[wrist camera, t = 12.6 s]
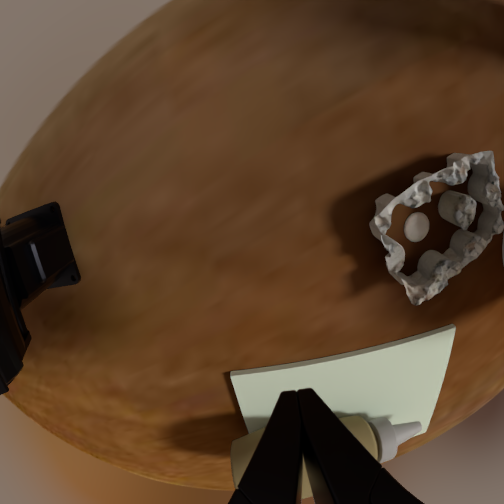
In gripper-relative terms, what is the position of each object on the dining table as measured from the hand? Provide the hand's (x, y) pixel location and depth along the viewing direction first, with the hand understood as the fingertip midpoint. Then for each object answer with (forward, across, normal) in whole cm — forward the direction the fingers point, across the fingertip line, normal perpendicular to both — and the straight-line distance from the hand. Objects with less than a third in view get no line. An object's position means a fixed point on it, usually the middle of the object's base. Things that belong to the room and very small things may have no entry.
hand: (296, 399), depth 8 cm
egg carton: (+14, -12, -1) cm, 18 cm away
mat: (+13, -6, +18) cm, 23 cm away
